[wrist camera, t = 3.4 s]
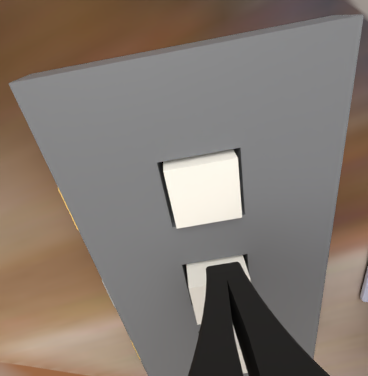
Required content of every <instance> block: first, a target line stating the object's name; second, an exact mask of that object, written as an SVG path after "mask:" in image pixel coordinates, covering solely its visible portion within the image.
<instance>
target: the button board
mask: <svg viewBox="0 0 368 376" xmlns="http://www.w3.org/2000/svg"><path fill="white" fill-rule="evenodd" d="M363 16H364V15H333V16H327V17H322V18H317V19H312V20H307V21H302V22H296V23H291V24H286V25H281V26H276V27H271V28H266V29H260V30H255V31H250V32H245V33H240V34H235V35H230V36H224V37H219V38H214V39H209V40H204V41H199V42H193V43H188V44H183V45H178V46H173V47H168V48H163V49H157V50H152V51H147V52H142V53H137V54H132V55H127V56H121V57H116V58H111V59H106V60H101V61H96V62H90V63H85V64H80V65H75V66H70V67H65V68H60V69H54V70H49V71H44V72H39V73H34V74H30V75H27V76H25V77H23V78H20V79H18V80H15V81H13V82H11V83H9V85H10V87H11V90H12V92H13V94H14V96H15V98H16V100H17V102H18V104H19V106H20V108H21V111H22V113H23V115H24V117H25V119H26V121H27V123H28V125H29V127H30V129H31V131H32V134H33V136H34V138H35V140H36V142H37V144H38V146H39V148H40V150H41V152H42V154H43V157H44V159H45V161H46V163H47V165H48V167H49V169H50V171H51V173H52V175H53V178H54V180H55V182H56V184H57V186H58V190H59V192H60V194H61V196H62V198H63V201H64V203H65V205H66V207H67V209H68V211H69V213H70V215H71V217H72V219H73V221H74V223H75V226H76V228H77V230H79V232H80V234H81V236H82V238H83V240H84V242H85V245H86V247H87V249H88V251H89V253H90V255H91V257H92V259H93V261H94V263H95V265H96V268H97V270H98V272H99V274H100V276H101V278H102V282H103V284H104V286H105V288H106V290H107V292H108V294H109V296H110V299H111V301H112V303H113V305H114V307H116V309H117V312H118V314H119V316H120V318H121V320H122V322H123V324H124V326H125V328H126V330H127V333H128V335H129V337H130V339H131V342H132V344H133V346H134V349H135V351H136V353H137V355H138V357H139V359H140V360H141V362H142V364H143V366H144V368H145V370H146V372H147V374H148V376H188V373H189V370H190V367H191V363H192V360H193V356H194V353H195V349H196V345H197V340H198V336H199V331H200V326H201V324H199V325H197V321H196V317H195V313H194V308H193V304H192V300H191V296H190V292H189V287H188V276H187V268H186V264H190V263H196V262H202V261H208V260H214V259H220V258H226V257H232V256H238V255H243V258H244V261H245V264H246V267H247V270H248V273H249V276H250V280H251V283H252V285H253V287H254V288H255V290H256V291H257V293H258V294H259V295H260V297H261V298H262V300H263V301H264V302H265V304H266V305H267V306H268V308H269V309H270V310H271V312H272V313H273V314H274V316H275V317H276V318H277V319H278V321H279V322H280V323H281V324H282V325H283V327H284V328H285V329H286V330H287V331H288V333H289V334H290V335H291V336H292V337H293V338H294V339H295V341H296V342H297V343H298V344H299V345H300V346H301V347H302V348H303V349H304V350H305V351H306V352H307V354H308V355H309V356H310V357H311V358H312V359H313V358H314V351H315V344H316V338H317V331H318V324H319V317H320V310H321V303H322V297H323V290H324V283H325V276H326V269H327V262H328V256H329V249H330V242H331V235H332V228H333V221H334V215H335V208H336V201H337V194H338V187H339V180H340V173H341V167H342V160H343V153H344V146H345V139H346V132H347V126H348V119H349V112H350V105H351V98H352V91H353V85H354V78H355V71H356V64H357V57H358V50H359V44H360V37H361V30H362V23H363ZM230 149H233V150H234V152H235V154H236V155H237V157H238V167H239V181H240V194H241V208H242V218H236V219H231V220H225V221H219V222H213V223H207V224H201V225H196V226H190V227H184V228H178V229H177V228H176V223H175V219H174V215H173V211H172V206H171V202H170V198H169V194H168V189H167V185H166V181H165V177H164V172H163V166H162V162H163V161H169V160H174V159H180V158H186V157H191V156H197V155H202V154H208V153H213V152H219V151H224V150H230ZM232 324H233V323H232ZM243 375H244V376H249V375H248V373H243Z"/></svg>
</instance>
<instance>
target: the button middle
mask: <svg viewBox="0 0 368 376" xmlns="http://www.w3.org/2000/svg"><path fill="white" fill-rule="evenodd" d="M231 262H239V263H240V264H241V266H242V268H243V270H244V272H245V274H246V275H247V277H248V279H249V280H250V276H249V273H248V270H247V267H246V264H245V261H244V258H243V255H238V256H232V257H226V258H220V259H214V260H208V261H202V262H196V263H190V264H186V265H187V276H188V287H189V292H190V296H191V300H192V304H193V308H194V313H195V317H196V321H197V325H199V324H201V321H202V316H203V309H204V302H205V294H206V268H207V267H208V266H213V265H219V264H225V263H231ZM250 282H251V280H250Z"/></svg>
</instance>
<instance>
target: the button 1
mask: <svg viewBox="0 0 368 376" xmlns="http://www.w3.org/2000/svg"><path fill="white" fill-rule="evenodd" d="M163 172H164V177H165V181H166V185H167V189H168V194H169V198H170V202H171V206H172V211H173V215H174V219H175V223H176V228H177V229H178V228H184V227H190V226H196V225H201V224H207V223H213V222H219V221H225V220H231V219H236V218H242V208H241V194H240V181H239V167H238V157H237V155H236V154H235V152H234V150H233V149H230V150H224V151H219V152H213V153H208V154H202V155H197V156H191V157H186V158H180V159H174V160H169V161H163Z"/></svg>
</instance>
